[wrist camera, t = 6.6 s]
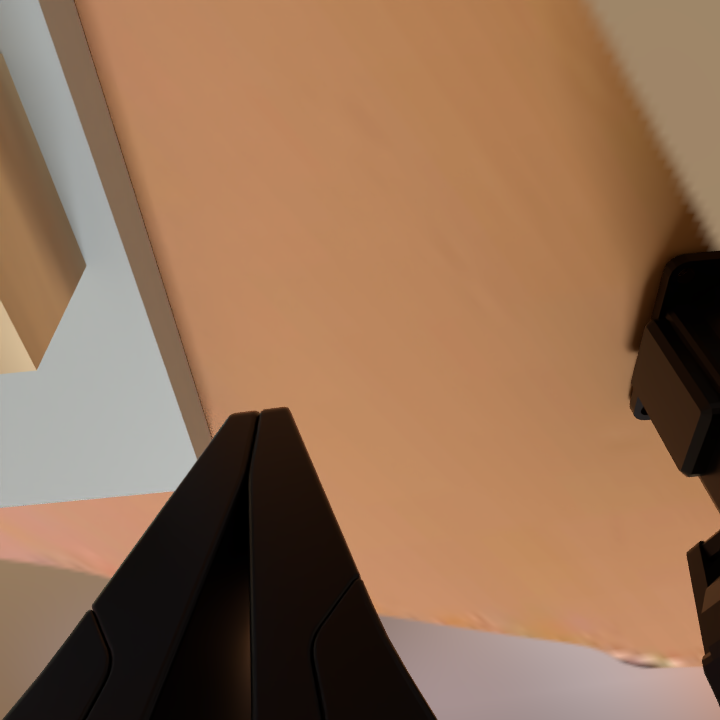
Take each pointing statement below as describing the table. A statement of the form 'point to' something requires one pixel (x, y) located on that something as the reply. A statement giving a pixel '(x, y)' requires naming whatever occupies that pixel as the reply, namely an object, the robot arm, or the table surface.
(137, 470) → the tray
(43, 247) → the maple block
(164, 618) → the robot arm
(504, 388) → the table surface
